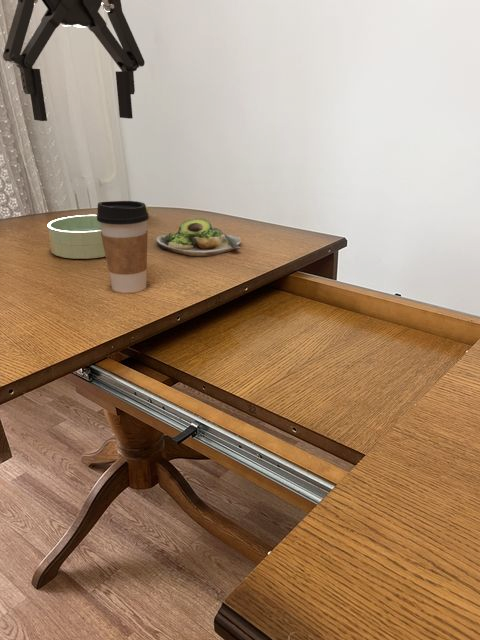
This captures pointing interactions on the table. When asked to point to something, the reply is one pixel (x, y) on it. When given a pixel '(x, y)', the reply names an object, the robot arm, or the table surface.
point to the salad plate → (198, 239)
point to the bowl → (76, 237)
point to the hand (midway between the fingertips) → (85, 119)
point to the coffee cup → (124, 243)
